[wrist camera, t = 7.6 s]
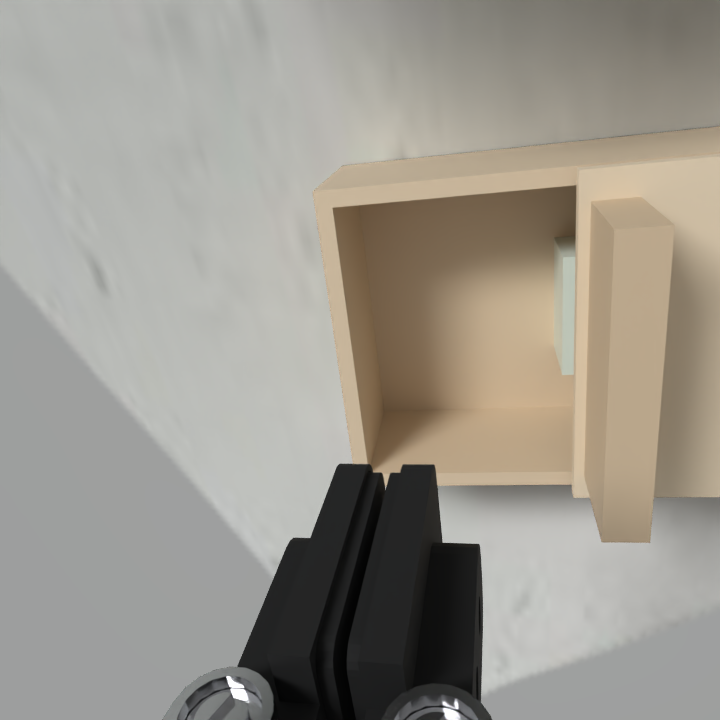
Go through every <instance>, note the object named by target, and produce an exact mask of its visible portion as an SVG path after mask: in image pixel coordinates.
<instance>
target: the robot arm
mask: <svg viewBox="0 0 720 720" xmlns="http://www.w3.org/2000/svg"><path fill="white" fill-rule="evenodd" d="M482 638H483V593H482V570H481V554H480V545H479V544H461V543H442V533H441V522H440V510H439V499H438V488H437V477H436V469H435V465H434V464H403V465H402V467H401V471H400V473H390V475H389V479H388V483H387V487H386V491H385V483H384V477H383V474H382V473H381V472H373V469H372V467H371V465H370V464H339V465H338V466H337V468H336V471H335V473H334V476H333V479H332V481H331V484H330V487H329V490H328V492H327V495H326V498H325V500H324V503H323V506H322V508H321V511H320V514H319V516H318V519H317V522H316V524H315V527H314V530H313V532H312V535H311V538H293V539H292V540H290V542H289V544H288V546H287V547H286V550H285V552H284V555H283V557H282V560H281V562H280V564H279V567H278V569H277V572H276V574H275V577H274V579H273V581H272V584H271V586H270V589H269V591H268V594H267V596H266V598H265V601H264V604H263V606H262V608H261V610H260V613H259V615H258V618H257V620H256V623H255V625H254V628H253V630H252V632H251V635H250V637H249V640H248V642H247V645H246V647H245V650H244V652H243V654H242V657H241V659H240V661H239V664H238V667H227V668H221V669H216V670H213V671H211V672H209V673H207V674H205V675H203V676H200V677H199V678H197V679H196V680H195V681H193V682H192V683H191V684H190V685H188V686H187V687H186V688H185V689H184V690H183V691H182V692H181V693H180V695H179V696H178V697H177V698H176V699H175V701H174V702H173V703H172V705H171V707H170V708H169V710H168V711H167V713H166V714H165V716H164V717H163V719H162V720H492V719H491V716H490V714H489V713H488V712H487V710H486V709H485V708H484V706H483V705H482V703H481V675H482Z"/></svg>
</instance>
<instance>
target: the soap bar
mask: <svg viewBox="0 0 720 720" xmlns="http://www.w3.org/2000/svg"><path fill="white" fill-rule="evenodd" d="M575 250H576V236H569V237H556V238H554V348H555V352H556V355H557V359H558V362H559V366H560V369H561V373H562V375H574V315H575Z"/></svg>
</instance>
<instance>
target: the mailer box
mask: <svg viewBox="0 0 720 720" xmlns="http://www.w3.org/2000/svg"><path fill="white" fill-rule="evenodd" d="M711 154H720V126H717V127H708V128H698V129H689V130H679V131H670V132H660V133H650V134H641V135H631V136H622V137H612V138H603V139H593V140H584V141H574V142H565V143H555V144H545V145H536V146H526V147H517V148H507V149H498V150H488V151H479V152H469V153H460V154H450V155H440V156H431V157H421V158H412V159H402V160H393V161H383V162H374V163H364V164H354V165H345V166H342V167H340V168H339V169H338V170H337V171H336V172H335V173H333V174H332V175H331V176H330V177H329V178H328V179H326V180H325V181H324V182H323V183H322V184H321V185H319V186H318V187H317V188H316V189H315V190H314V191H313V198H314V204H315V211H316V218H317V225H318V231H319V238H320V245H321V252H322V258H323V265H324V272H325V279H326V285H327V292H328V299H329V305H330V312H331V319H332V326H333V332H334V339H335V346H336V353H337V359H338V366H339V373H340V380H341V386H342V393H343V400H344V407H345V413H346V420H347V427H348V433H349V440H350V447H351V454H352V460H353V464H370V465H371V467H372V469H373V472H381V473H382V474H383V477H384V483H385V486H387V483H388V479H389V475H390V473H400V471H401V467H402V465H403V464H434V465H435V469H436V477H437V486H455V485H572V444H573V379H574V375H562V373H561V369H560V366H559V362H558V359H557V355H556V352H555V348H554V238H556V237H569V236H576V186H577V167H588V166H598V165H608V164H619V163H629V162H639V161H649V160H660V159H670V158H680V157H690V156H701V155H711Z"/></svg>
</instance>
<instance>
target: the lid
mask: <svg viewBox="0 0 720 720" xmlns="http://www.w3.org/2000/svg"><path fill="white" fill-rule="evenodd" d="M572 493H573V498H590V500H591V504H592V508H593V511H594V515H595V519H596V522H597V526H598V530H599V534H600V537H601V541H602V542H634V543H650V536H651V524H652V511H653V498H654V497H720V154H711V155H701V156H690V157H680V158H670V159H660V160H649V161H639V162H629V163H619V164H608V165H598V166H588V167H577V186H576V250H575V315H574V379H573V444H572Z"/></svg>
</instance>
